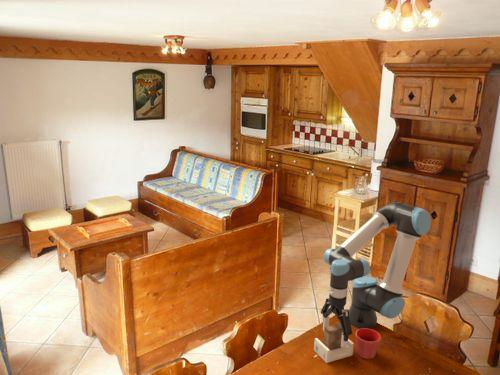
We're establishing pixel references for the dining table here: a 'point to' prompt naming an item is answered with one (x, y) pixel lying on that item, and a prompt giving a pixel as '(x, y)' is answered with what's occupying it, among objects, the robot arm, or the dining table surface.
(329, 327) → the walnut panel
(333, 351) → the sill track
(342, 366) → the dining table surface
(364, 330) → the flower pot
